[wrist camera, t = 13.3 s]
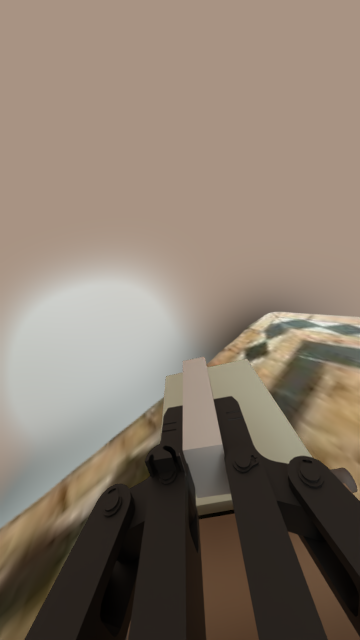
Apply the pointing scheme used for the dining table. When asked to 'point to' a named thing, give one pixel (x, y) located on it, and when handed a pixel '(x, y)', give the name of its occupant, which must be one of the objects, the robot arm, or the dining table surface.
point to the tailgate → (259, 414)
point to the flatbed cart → (233, 591)
